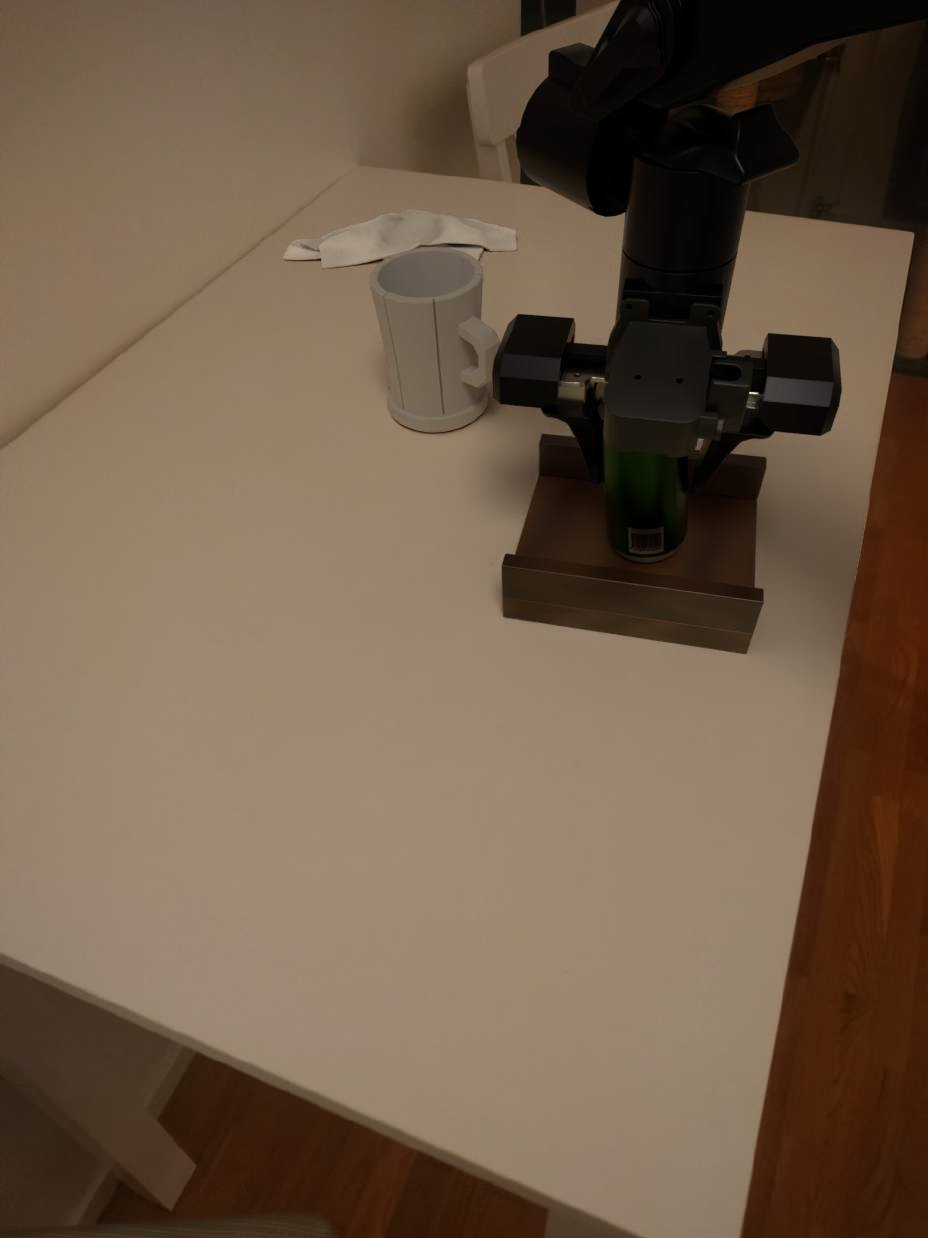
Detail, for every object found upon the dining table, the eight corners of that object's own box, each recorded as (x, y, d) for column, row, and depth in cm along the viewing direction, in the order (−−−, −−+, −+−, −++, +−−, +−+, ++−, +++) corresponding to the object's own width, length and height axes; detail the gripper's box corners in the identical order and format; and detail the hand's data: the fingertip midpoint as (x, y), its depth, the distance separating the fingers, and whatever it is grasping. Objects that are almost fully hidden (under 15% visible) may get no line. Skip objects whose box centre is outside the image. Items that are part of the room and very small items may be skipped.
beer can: (695, 559, 54) (698, 405, 46) (613, 571, 55) (602, 422, 46) (678, 506, 58) (678, 355, 49) (602, 519, 59) (589, 371, 50)
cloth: (525, 217, 96) (525, 196, 94) (510, 274, 87) (510, 253, 85) (312, 213, 100) (308, 193, 98) (277, 267, 91) (272, 247, 89)
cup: (512, 378, 74) (510, 246, 65) (500, 440, 68) (496, 305, 59) (399, 374, 76) (382, 245, 67) (378, 434, 70) (356, 301, 61)
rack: (752, 510, 61) (767, 456, 57) (746, 654, 52) (763, 602, 49) (540, 485, 64) (541, 432, 61) (502, 617, 56) (501, 565, 52)
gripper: (461, 314, 38) (476, 553, 50) (890, 347, 34) (797, 597, 46) (511, 210, 45) (513, 442, 57) (873, 229, 41) (795, 472, 53)
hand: (645, 486), depth 53 cm, fingers closed on beer can, 6 cm apart
